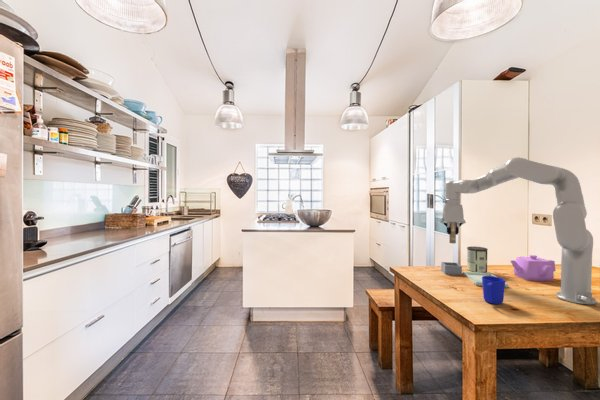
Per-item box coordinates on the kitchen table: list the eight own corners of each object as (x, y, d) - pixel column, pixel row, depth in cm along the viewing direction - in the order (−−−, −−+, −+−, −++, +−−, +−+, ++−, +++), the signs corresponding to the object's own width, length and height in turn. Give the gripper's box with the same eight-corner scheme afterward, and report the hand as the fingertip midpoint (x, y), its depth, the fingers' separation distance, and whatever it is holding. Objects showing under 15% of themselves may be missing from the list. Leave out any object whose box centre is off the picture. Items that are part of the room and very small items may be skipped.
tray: (508, 287, 140) (508, 284, 140) (476, 285, 143) (476, 282, 143) (491, 276, 159) (491, 273, 159) (463, 274, 162) (463, 271, 162)
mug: (476, 304, 119) (477, 280, 118) (484, 297, 127) (484, 274, 127) (500, 310, 113) (501, 284, 113) (506, 302, 121) (507, 278, 121)
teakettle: (556, 278, 156) (556, 255, 155) (550, 284, 145) (550, 260, 144) (517, 271, 169) (518, 251, 168) (509, 277, 158) (509, 255, 157)
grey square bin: (461, 276, 159) (461, 266, 159) (445, 275, 161) (445, 265, 161) (457, 272, 168) (457, 262, 168) (441, 271, 170) (441, 261, 170)
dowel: (456, 243, 162) (456, 219, 162) (450, 243, 163) (450, 218, 163) (454, 242, 166) (454, 218, 165) (448, 242, 166) (448, 218, 166)
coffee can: (474, 268, 175) (475, 245, 175) (491, 273, 166) (491, 248, 166) (462, 270, 172) (463, 247, 171) (479, 274, 162) (479, 250, 162)
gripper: (438, 202, 162) (438, 234, 163) (471, 202, 158) (470, 235, 159) (435, 202, 170) (435, 233, 170) (466, 202, 166) (466, 233, 166)
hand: (452, 233), depth 164 cm, fingers closed on dowel, 3 cm apart
